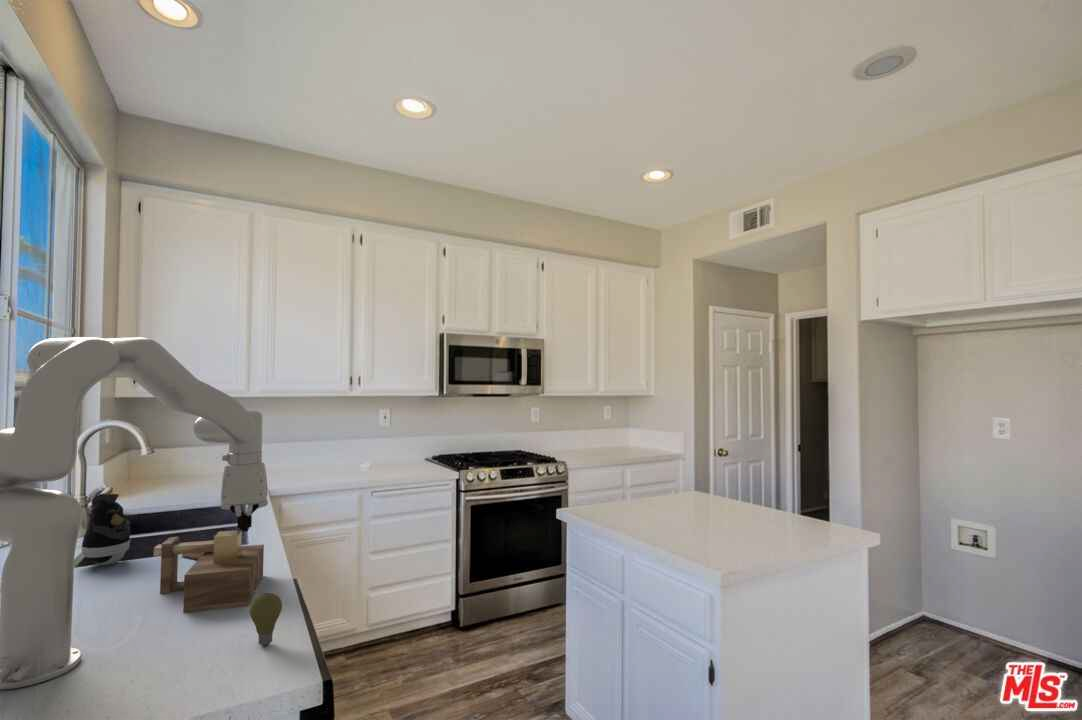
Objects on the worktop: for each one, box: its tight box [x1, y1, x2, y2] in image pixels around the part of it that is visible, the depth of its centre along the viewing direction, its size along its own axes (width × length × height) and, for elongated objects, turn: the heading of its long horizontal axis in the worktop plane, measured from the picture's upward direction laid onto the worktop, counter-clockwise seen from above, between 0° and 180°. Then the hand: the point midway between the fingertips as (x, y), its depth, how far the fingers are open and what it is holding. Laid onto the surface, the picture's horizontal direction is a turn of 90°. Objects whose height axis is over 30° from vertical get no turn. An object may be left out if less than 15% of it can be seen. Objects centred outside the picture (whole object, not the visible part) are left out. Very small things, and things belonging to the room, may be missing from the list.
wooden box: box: [159, 536, 265, 614], centre depth 132 cm, size 20×22×12 cm
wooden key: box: [153, 539, 214, 557], centre depth 137 cm, size 3×14×2 cm, turn 109°
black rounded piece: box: [80, 492, 131, 566], centre depth 152 cm, size 11×11×20 cm
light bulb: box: [249, 592, 283, 647], centre depth 107 cm, size 6×6×10 cm
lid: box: [183, 529, 265, 581], centre depth 133 cm, size 20×13×8 cm, turn 19°
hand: (244, 530), depth 141 cm, fingers closed
